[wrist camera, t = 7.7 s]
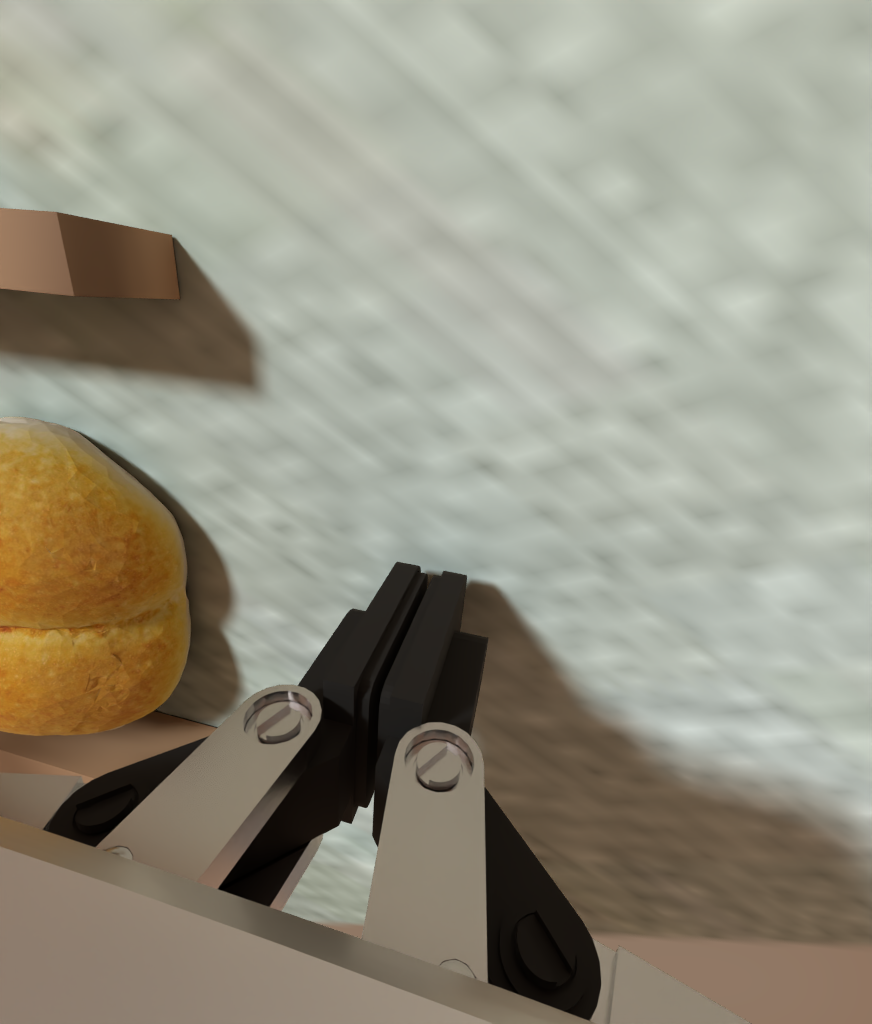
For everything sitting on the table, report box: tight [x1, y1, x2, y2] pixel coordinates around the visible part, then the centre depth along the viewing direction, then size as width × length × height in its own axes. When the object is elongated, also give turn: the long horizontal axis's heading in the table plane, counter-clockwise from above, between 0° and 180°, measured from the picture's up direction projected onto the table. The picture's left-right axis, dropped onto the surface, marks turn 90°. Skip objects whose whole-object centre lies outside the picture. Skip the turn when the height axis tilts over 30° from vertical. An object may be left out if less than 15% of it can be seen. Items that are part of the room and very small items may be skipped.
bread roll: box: [0, 417, 191, 736], centre depth 12 cm, size 8×9×4 cm
